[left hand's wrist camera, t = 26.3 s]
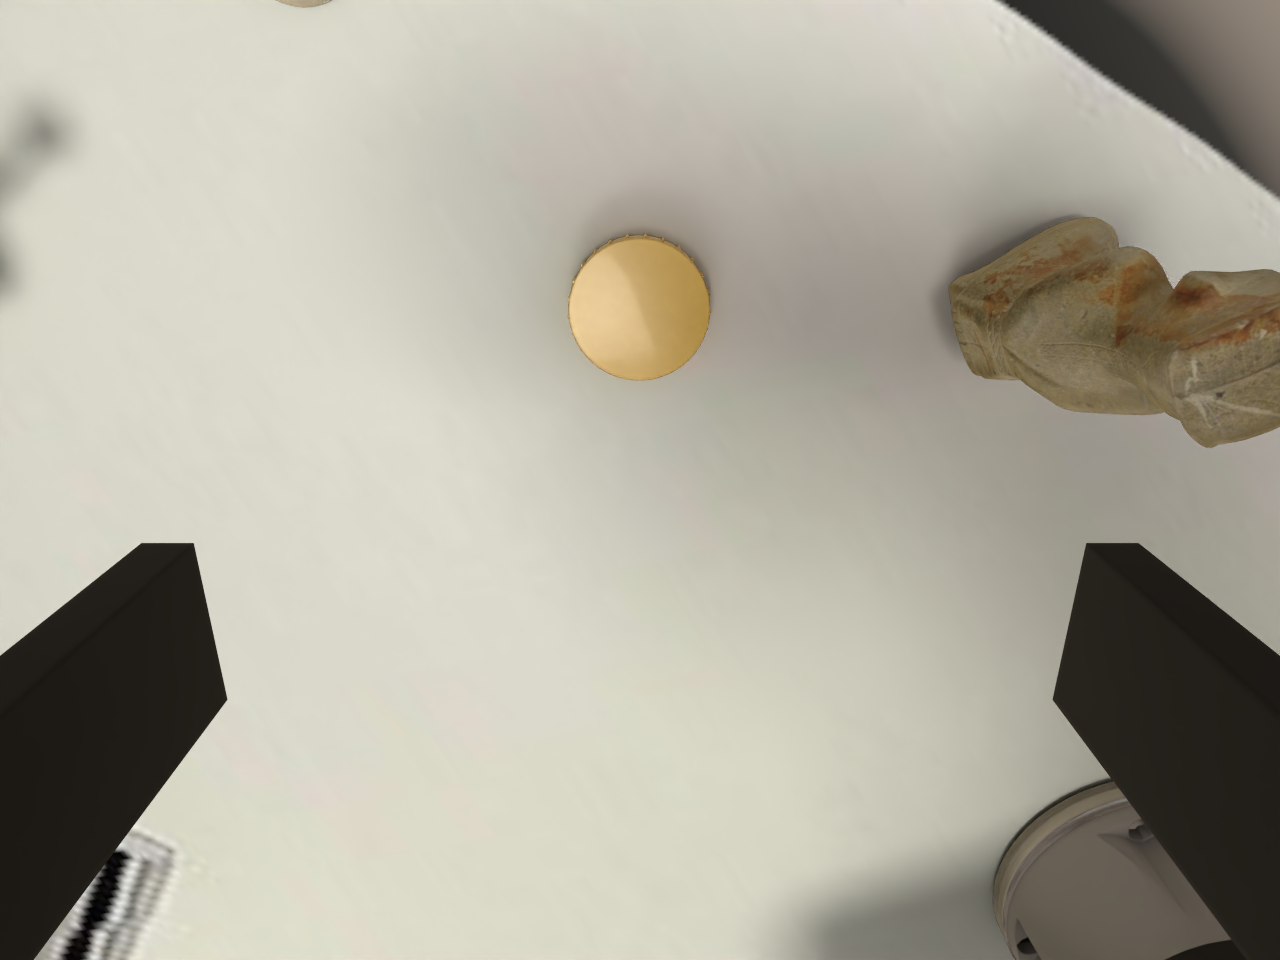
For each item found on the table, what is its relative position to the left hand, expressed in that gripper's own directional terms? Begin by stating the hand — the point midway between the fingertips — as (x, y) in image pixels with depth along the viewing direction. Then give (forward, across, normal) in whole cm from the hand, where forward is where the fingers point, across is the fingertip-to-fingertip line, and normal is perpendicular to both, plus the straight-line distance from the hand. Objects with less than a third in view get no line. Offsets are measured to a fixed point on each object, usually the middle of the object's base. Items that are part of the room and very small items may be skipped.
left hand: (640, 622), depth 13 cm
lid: (+24, 0, 0) cm, 24 cm away
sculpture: (+26, -16, -1) cm, 30 cm away
